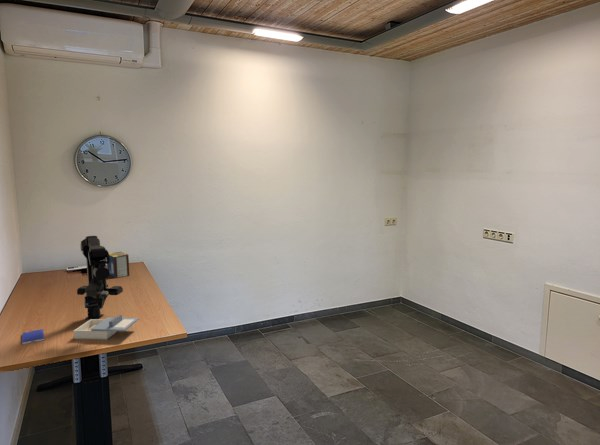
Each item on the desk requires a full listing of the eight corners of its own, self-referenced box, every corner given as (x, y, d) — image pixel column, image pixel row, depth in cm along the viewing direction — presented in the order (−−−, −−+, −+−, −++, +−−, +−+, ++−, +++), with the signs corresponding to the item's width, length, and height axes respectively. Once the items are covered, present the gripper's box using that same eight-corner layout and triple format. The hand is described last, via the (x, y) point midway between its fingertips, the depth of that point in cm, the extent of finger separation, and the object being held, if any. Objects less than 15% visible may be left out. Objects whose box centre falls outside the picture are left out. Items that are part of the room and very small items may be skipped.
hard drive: (22, 332, 187) (21, 342, 177) (43, 328, 191) (44, 338, 181) (22, 335, 187) (22, 345, 177) (43, 332, 191) (44, 341, 181)
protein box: (122, 271, 304) (121, 251, 302) (129, 275, 292) (128, 254, 290) (107, 274, 297) (106, 253, 295) (114, 278, 285) (113, 256, 283)
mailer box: (91, 327, 196) (90, 319, 196) (121, 327, 196) (121, 319, 195) (74, 339, 182) (73, 330, 182) (106, 339, 182) (106, 331, 181)
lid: (107, 318, 195) (107, 312, 195) (138, 319, 195) (138, 313, 194) (91, 330, 181) (90, 323, 181) (125, 331, 181) (124, 324, 180)
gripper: (68, 279, 178) (70, 314, 180) (110, 280, 177) (112, 314, 179) (82, 273, 189) (84, 305, 191) (122, 273, 188) (124, 306, 190)
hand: (101, 308), depth 187 cm, fingers closed
